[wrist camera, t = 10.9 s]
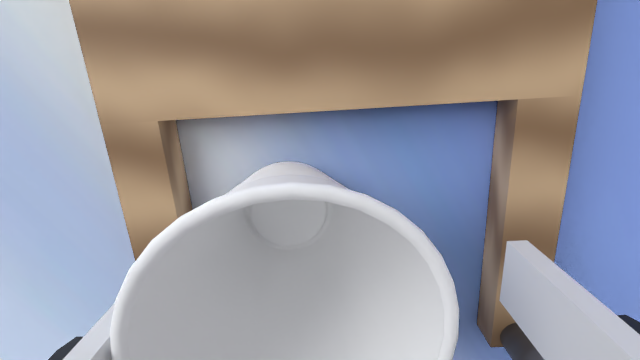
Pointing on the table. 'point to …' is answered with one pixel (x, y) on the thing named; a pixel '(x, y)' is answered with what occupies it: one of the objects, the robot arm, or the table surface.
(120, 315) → the cup
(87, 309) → the table surface
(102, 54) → the wooden frame with crossbar
